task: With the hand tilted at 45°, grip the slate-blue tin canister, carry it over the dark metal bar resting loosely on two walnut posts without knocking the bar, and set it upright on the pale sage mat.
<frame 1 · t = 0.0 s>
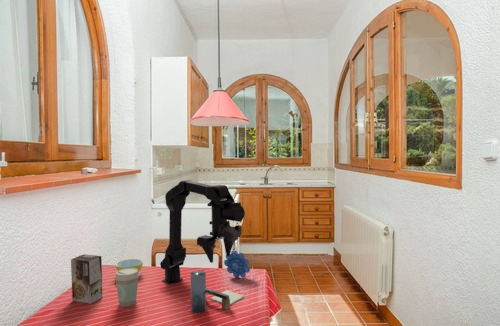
hand: (219, 259, 125), 15 cm above the table, tool pointing down, fingers open, 9 cm apart
mat: (227, 298, 124), on the table
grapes: (236, 278, 144), on the table
bowl: (129, 276, 148), on the table
bar: (213, 294, 120), point 3 cm above the table, touching posts
coffee box: (87, 299, 125), on the table
canister: (198, 309, 115), on the table
coffee cup: (127, 304, 121), on the table
posts: (213, 303, 120), on the table
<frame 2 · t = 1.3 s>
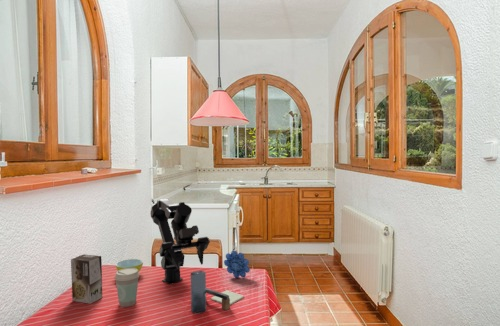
hand: (190, 266, 122), 13 cm above the table, tool tilted 45°, fingers open, 9 cm apart
nothing on the table moved.
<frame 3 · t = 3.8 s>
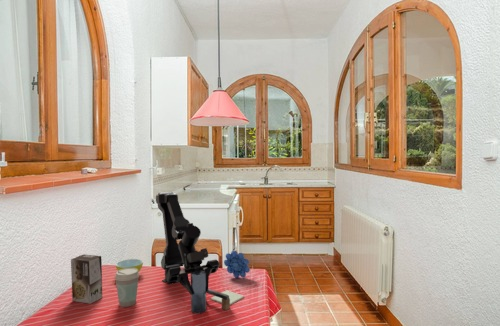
hand: (199, 292, 114), 7 cm above the table, tool tilted 45°, fingers closed on canister, 5 cm apart
canister: (198, 309, 115), on the table, touching gripper
everything else where it was.
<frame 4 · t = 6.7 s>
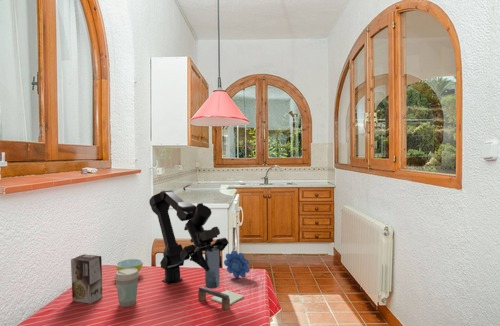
hand: (214, 268, 118), 13 cm above the table, tool tilted 45°, fingers closed on canister, 5 cm apart
canister: (212, 285, 120), point 7 cm above the table, touching gripper
everything else where it was.
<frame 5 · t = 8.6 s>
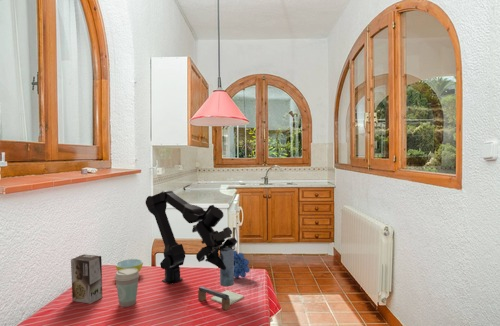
hand: (229, 267, 123), 12 cm above the table, tool tilted 45°, fingers closed on canister, 5 cm apart
canister: (227, 283, 124), point 6 cm above the table, touching gripper
everything else where it was.
when the fingers open (8 cm above the table, at t = 9.8 s): canister stays where it is, resting on mat.
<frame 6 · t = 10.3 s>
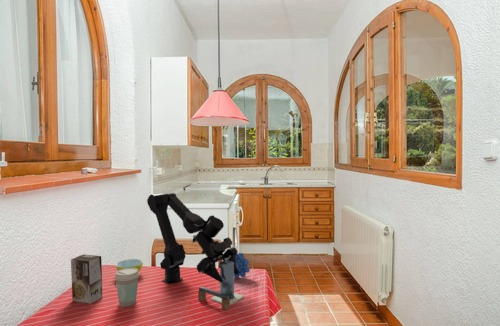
hand: (230, 278, 123), 8 cm above the table, tool tilted 45°, fingers open, 9 cm apart
canister: (227, 296, 125), point 1 cm above the table, touching mat
everything else where it was.
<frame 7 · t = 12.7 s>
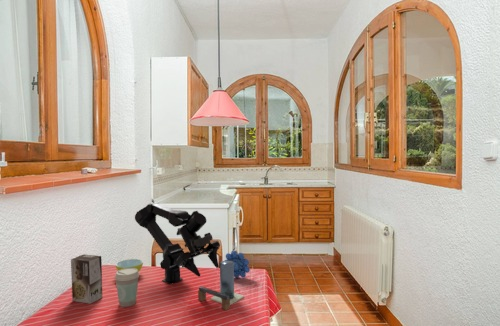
hand: (209, 271, 129), 9 cm above the table, tool tilted 40°, fingers open, 9 cm apart
nothing on the table moved.
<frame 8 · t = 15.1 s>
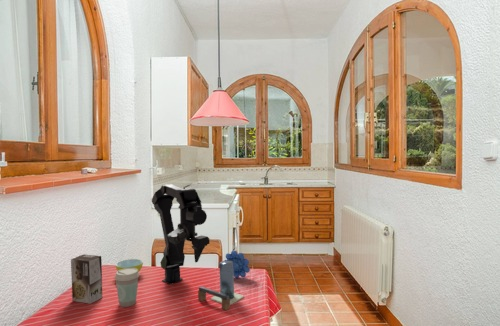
hand: (188, 259, 130), 13 cm above the table, tool pointing down, fingers open, 9 cm apart
nothing on the table moved.
at the end: canister 0.1 cm off-centre on the mat, point 0.5 cm above the mat's base; canister tilted 1°; bar moved 0.1 cm from its start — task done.
